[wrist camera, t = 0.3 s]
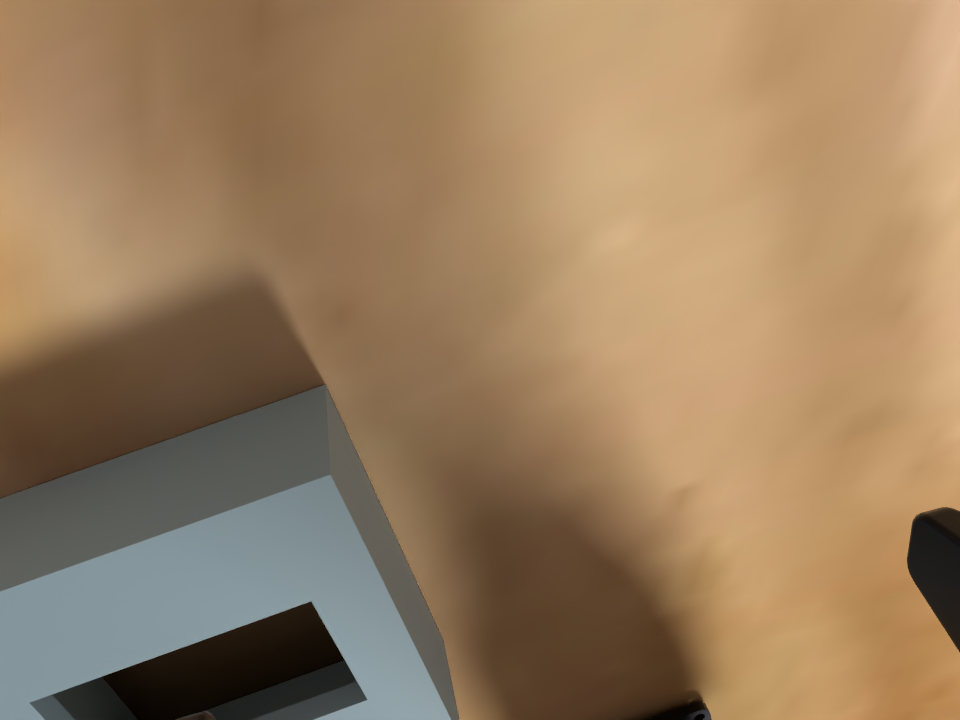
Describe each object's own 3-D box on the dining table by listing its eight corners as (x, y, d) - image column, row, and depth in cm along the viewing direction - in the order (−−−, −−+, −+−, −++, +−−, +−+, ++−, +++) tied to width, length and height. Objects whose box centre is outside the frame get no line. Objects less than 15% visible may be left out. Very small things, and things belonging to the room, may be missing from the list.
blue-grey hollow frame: (443, 640, 30) (464, 747, 26) (137, 751, 29) (112, 877, 25) (325, 384, 24) (330, 474, 20) (-64, 520, 23) (-136, 639, 19)
